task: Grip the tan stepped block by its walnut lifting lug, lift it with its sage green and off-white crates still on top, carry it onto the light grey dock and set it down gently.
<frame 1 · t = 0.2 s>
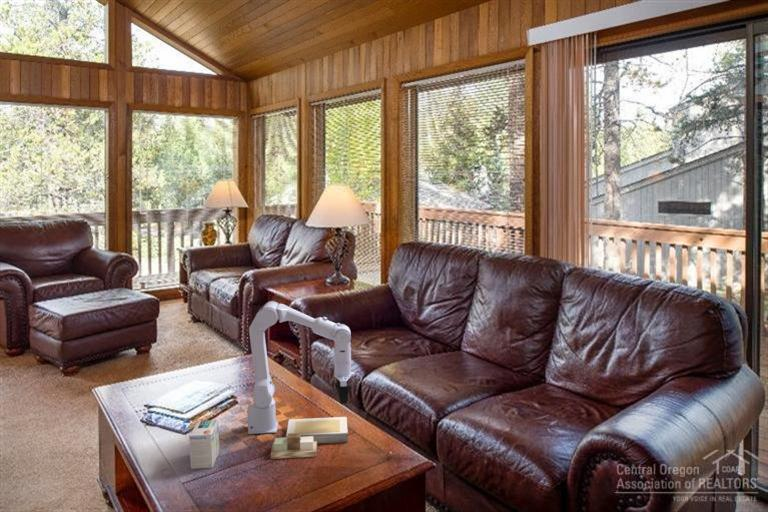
hand: (343, 398, 199), 10 cm above the table, tool pointing down, fingers open, 7 cm apart
light bulb box: (205, 460, 178), on the table
tan stepped block: (294, 453, 182), on the table, touching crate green, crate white
dock: (317, 433, 195), on the table
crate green: (281, 448, 182), point 2 cm above the table, touching tan stepped block
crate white: (307, 446, 182), point 2 cm above the table, touching tan stepped block
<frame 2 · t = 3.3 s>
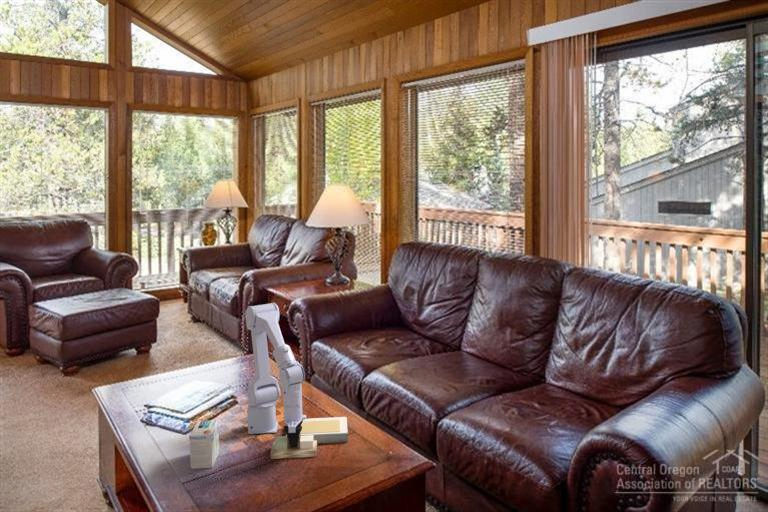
hand: (294, 444, 182), 3 cm above the table, tool pointing down, fingers closed on tan stepped block, 3 cm apart
tan stepped block: (294, 452, 182), on the table, touching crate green, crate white, gripper
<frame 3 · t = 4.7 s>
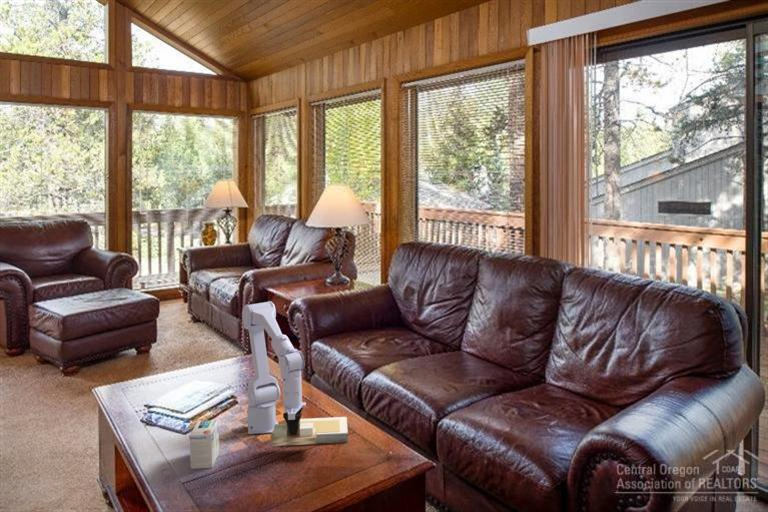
hand: (293, 431, 181), 7 cm above the table, tool pointing down, fingers closed on tan stepped block, 3 cm apart
tan stepped block: (294, 439, 182), point 4 cm above the table, touching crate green, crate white, gripper
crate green: (280, 434, 181), point 6 cm above the table, touching tan stepped block
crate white: (306, 433, 182), point 6 cm above the table, touching tan stepped block
everything else where it was.
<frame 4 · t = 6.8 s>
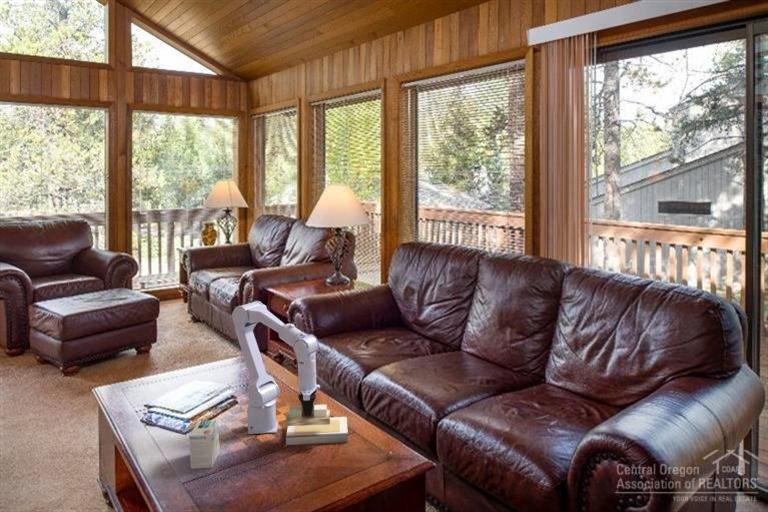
hand: (308, 413, 188), 10 cm above the table, tool pointing down, fingers closed on tan stepped block, 3 cm apart
tan stepped block: (308, 420, 189), point 7 cm above the table, touching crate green, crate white, gripper
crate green: (295, 415, 188), point 9 cm above the table, touching tan stepped block
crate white: (320, 414, 189), point 9 cm above the table, touching tan stepped block
everything else where it was.
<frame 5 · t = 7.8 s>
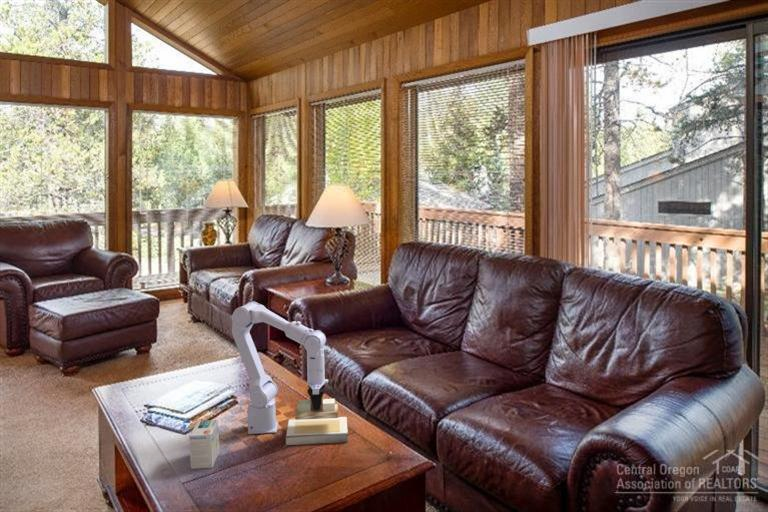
hand: (316, 406, 193), 10 cm above the table, tool pointing down, fingers closed on tan stepped block, 3 cm apart
tan stepped block: (317, 414, 194), point 7 cm above the table, touching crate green, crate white, gripper
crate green: (304, 409, 193), point 9 cm above the table, touching tan stepped block
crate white: (328, 408, 194), point 9 cm above the table, touching tan stepped block
everything else where it was.
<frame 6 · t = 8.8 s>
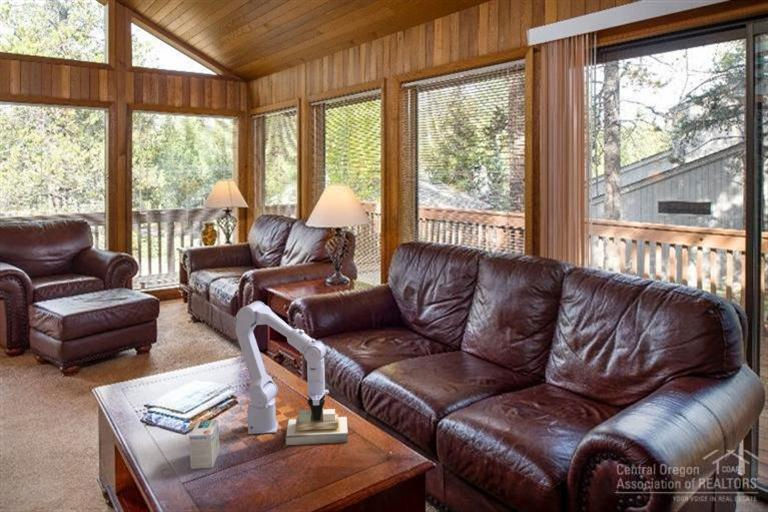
hand: (317, 417, 194), 6 cm above the table, tool pointing down, fingers closed on tan stepped block, 3 cm apart
tan stepped block: (317, 424, 194), point 3 cm above the table, touching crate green, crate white, gripper
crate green: (305, 419, 193), point 5 cm above the table, touching tan stepped block
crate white: (329, 418, 194), point 5 cm above the table, touching tan stepped block
everything else where it was.
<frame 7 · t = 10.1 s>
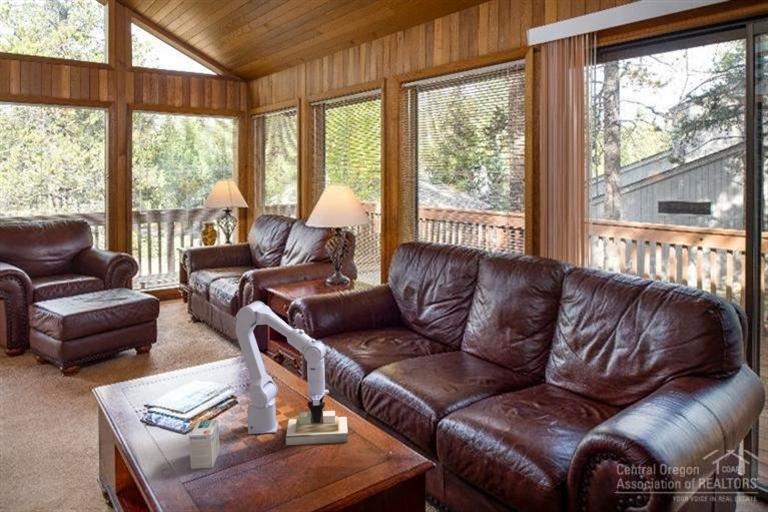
hand: (317, 417, 194), 6 cm above the table, tool pointing down, fingers open, 7 cm apart
tan stepped block: (317, 426, 194), point 3 cm above the table, touching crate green, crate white, dock
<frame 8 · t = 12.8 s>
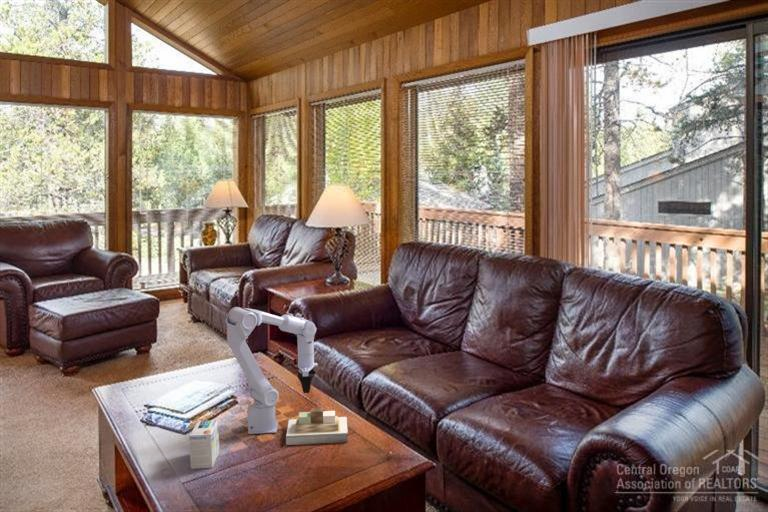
hand: (306, 388, 209), 10 cm above the table, tool pointing down, fingers open, 7 cm apart
nothing on the table moved.
at the end: tan stepped block inside the target area (0.0 cm from its centre), point 2.6 cm above the table; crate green point 4.6 cm above the table; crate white point 4.6 cm above the table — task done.
